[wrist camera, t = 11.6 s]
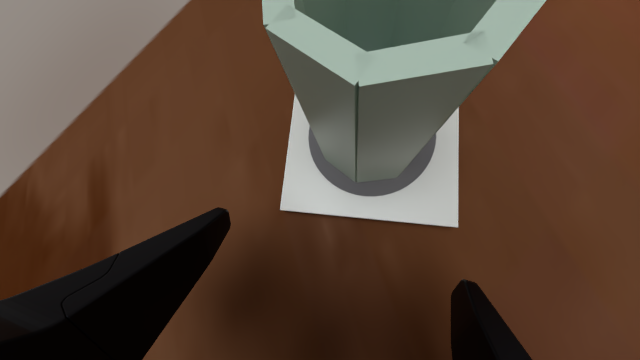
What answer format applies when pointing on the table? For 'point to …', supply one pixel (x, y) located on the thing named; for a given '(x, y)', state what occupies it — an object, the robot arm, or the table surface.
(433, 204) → the post board
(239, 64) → the table surface
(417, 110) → the sleeve
